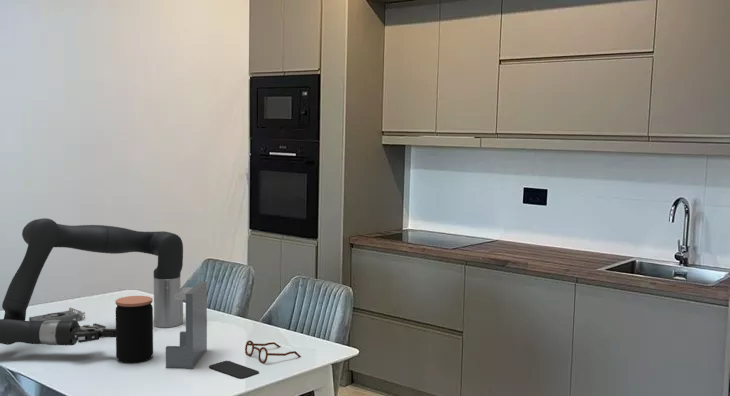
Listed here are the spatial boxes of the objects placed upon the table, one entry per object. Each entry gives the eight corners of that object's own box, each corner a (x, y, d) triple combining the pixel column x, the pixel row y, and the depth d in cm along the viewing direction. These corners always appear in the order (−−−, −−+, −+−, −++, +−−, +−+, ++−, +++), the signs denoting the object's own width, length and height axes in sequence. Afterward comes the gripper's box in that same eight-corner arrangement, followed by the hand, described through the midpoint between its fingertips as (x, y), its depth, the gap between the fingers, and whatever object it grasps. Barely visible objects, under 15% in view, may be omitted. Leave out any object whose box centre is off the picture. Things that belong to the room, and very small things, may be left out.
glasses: (244, 355, 213) (244, 339, 213) (280, 348, 221) (280, 332, 221) (265, 366, 203) (265, 349, 203) (302, 358, 211) (302, 342, 211)
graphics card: (71, 306, 258) (85, 311, 250) (72, 316, 258) (85, 321, 250) (24, 314, 246) (37, 319, 238) (25, 324, 246) (37, 330, 238)
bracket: (165, 368, 198) (164, 293, 197) (181, 349, 216) (181, 280, 215) (192, 368, 198) (192, 293, 197) (206, 349, 216) (206, 281, 215)
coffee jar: (160, 355, 210) (160, 298, 208) (135, 365, 200) (134, 305, 199) (134, 350, 214) (133, 294, 213) (108, 360, 205) (107, 301, 203)
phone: (240, 378, 190) (207, 365, 200) (240, 381, 190) (207, 368, 200) (261, 371, 196) (227, 360, 205) (260, 374, 196) (227, 362, 205)
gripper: (49, 326, 200) (108, 326, 200) (68, 314, 213) (124, 315, 213) (49, 351, 200) (109, 352, 200) (69, 338, 213) (124, 339, 214)
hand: (117, 333), depth 207 cm, fingers closed
